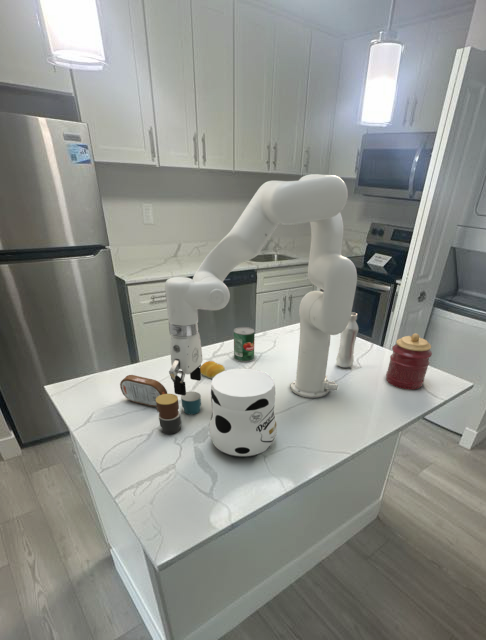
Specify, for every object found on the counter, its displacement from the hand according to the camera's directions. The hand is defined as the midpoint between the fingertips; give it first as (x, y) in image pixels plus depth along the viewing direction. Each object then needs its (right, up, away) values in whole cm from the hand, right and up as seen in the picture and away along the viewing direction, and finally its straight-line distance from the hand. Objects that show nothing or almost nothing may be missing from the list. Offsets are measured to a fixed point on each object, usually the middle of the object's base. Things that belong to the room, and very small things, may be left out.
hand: (188, 386), depth 107 cm
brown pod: (-4, -8, -7) cm, 11 cm away
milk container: (+16, -16, -8) cm, 24 cm away
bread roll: (+3, +7, +26) cm, 27 cm away
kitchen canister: (+71, +4, +26) cm, 76 cm away
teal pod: (0, -6, +5) cm, 8 cm away
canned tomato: (+13, +15, +38) cm, 43 cm away
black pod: (-4, -12, -4) cm, 13 cm away
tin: (-15, -4, +7) cm, 17 cm away
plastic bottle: (+51, +12, +35) cm, 63 cm away
